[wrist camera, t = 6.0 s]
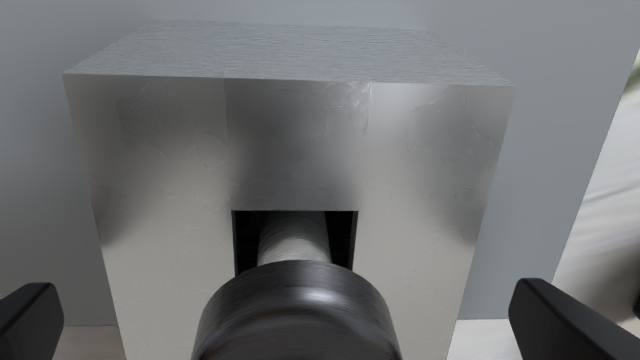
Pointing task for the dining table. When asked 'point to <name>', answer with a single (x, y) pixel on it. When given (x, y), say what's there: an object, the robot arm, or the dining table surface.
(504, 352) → the dining table surface
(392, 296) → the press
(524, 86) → the board
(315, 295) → the plunger
